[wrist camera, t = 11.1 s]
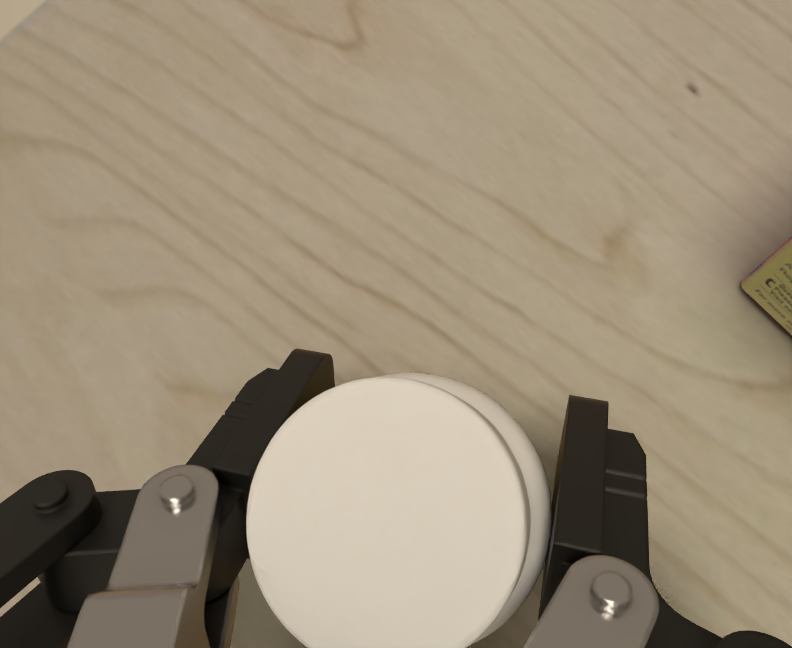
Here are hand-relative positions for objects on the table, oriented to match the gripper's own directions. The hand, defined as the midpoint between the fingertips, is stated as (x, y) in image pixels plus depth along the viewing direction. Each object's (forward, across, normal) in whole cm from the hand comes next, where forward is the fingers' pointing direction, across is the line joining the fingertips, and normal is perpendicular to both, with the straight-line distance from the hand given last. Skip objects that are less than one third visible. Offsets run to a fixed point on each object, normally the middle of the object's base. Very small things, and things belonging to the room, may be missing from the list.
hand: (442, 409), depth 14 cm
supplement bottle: (+2, 0, +4) cm, 5 cm away
